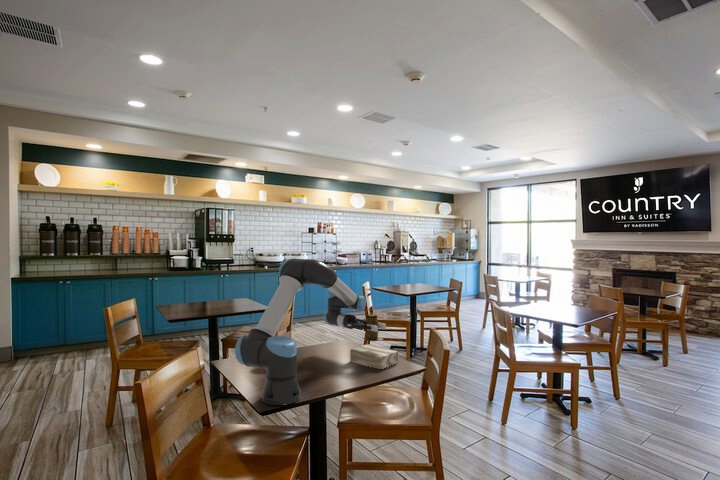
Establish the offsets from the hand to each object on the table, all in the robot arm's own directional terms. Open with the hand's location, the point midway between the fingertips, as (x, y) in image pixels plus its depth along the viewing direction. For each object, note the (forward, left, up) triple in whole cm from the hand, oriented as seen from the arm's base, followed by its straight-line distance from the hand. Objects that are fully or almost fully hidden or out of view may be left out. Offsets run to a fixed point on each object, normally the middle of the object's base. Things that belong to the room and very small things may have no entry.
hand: (381, 327), depth 192 cm
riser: (-2, +4, -18) cm, 19 cm away
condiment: (-3, +4, -7) cm, 8 cm away
